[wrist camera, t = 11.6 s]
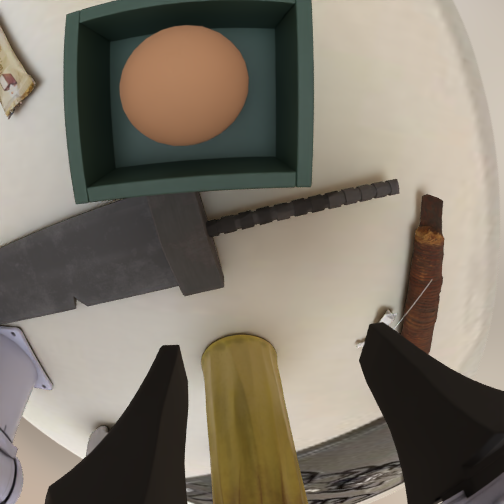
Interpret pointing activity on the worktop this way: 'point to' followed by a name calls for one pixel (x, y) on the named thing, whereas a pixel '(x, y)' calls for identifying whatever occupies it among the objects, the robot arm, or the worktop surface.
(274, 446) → the vase
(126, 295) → the flat dark sword
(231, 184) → the tote
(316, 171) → the worktop surface
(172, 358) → the robot arm
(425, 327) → the hand tool
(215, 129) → the egg
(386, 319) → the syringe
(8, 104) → the snack bar
